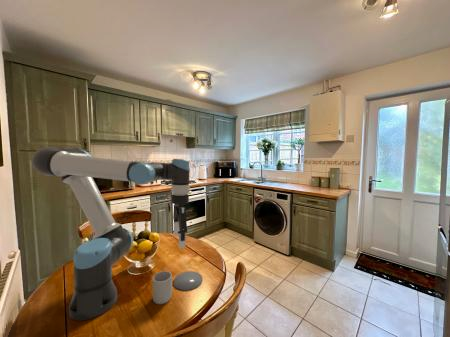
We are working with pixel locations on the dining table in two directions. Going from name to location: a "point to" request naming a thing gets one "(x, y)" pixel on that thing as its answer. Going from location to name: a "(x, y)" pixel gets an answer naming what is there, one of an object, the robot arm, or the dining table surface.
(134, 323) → the dining table surface
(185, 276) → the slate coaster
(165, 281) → the cup
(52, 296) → the dining table surface
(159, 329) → the dining table surface
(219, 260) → the dining table surface
